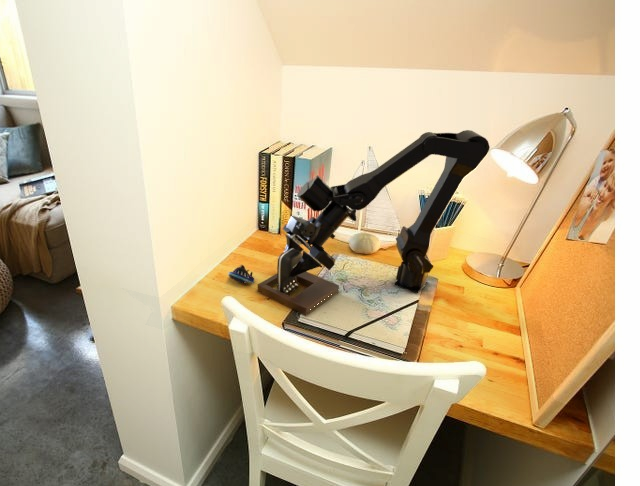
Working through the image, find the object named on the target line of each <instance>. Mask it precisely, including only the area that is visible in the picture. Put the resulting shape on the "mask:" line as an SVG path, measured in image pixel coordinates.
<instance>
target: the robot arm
mask: <svg viewBox="0 0 640 486" xmlns="http://www.w3.org/2000/svg"><path fill="white" fill-rule="evenodd" d="M490 149H491V148H490V143H489V141H488V139H487V138H486V137H484V136H482V135H480V134H479V133H477V132H475V131H473V130H470V129H466V130H462V131H460V132H457V133H456V132H433V131H432V132H431V131H428V132H424V133H422V134H421V135H420V136H419V137H418V138H417V139H415V140H414V141H413V142H412V143H410V144H409V145H407V146H406V147H405V148H403V149H401V150H400V151H399V152H398V153H396V154H395V155H394V156H392V157H391V158H389V159H388V160H386V161H385V162H383V163H382V164H381V165H379V166H378V167H377V168H375V169H374V170H372V171H370V172H367V173H363V174H360V175H359V176H356V177H354V178H353V179H350V180H349V181H347V183H344V184H339V185H332V186H329V185H328V184H327V183H326V182H325V180H323V178H322V177H321V176H320V175H316V176H315V177H314V178H312V179H310V180H309V181H306V182H305V183H304V185H302V187H301V188H300V189H299V191H298V192H297V195H296V196H297V197H298V199H300V200H301V202H303V203H304V204H305V205H306V206H308V208H309V209H310V210H312V211H313V212H318V213H319V212H320V213H319V214H318V215H317V217H316V218H315V217H314V216H312V217H310V218H309V219H304V218H301V217H298V216H295V215H290V217H289V219H288V222H287V223H286V224H285V225H284V226H283V227H282V228H281V229H282V230H283V231H284V232H285V238H286V245H285V248H284V250H283V252H285V251H286V250H288V249H290V248H293V249H295V250H298V251H300V252H301V253H302V259H301V260H300V261H299V262H298V264H297V265H296V266H295V267H294V269H293V270H292V271H291V273H290V276H291V277H294V276H297V275H299V274H301V273H304V272H308V271H311V270H314V269H316V268H323V267H324V268H326V269H327V270H329V271H331V269H332V268H334V266H335V265H336V259H335V258H334V257H333V256H332V255H330V254H329V253H328V252H327V251H326V250H325V247H324V246H323V245H324V244H325V243H326V242H327V241H328V240H329V239H330V238H331V239H332V240H334V239H335V238H336V235H335V234H334V233H335V232H336V231H337V230H338V229H339V228H340V227H341V226H342V224H343V223H344V222H345V221H346V220H347V219H349V220H350V221H353V222H357V211H362V210H363V209H365V208H366V207H368V206H369V205H370V204H371V203H372V202H373V201H374V200H375V199H376V198H377V197H378V195H379V194H380V193H381V191H382V190H383V189H384V188H385V187H387V186H388V185H389V184H391V183H393V182H394V181H395V180H396V179H398V178H399V177H401V176H402V175H404V174H405V173H406V172H409V171H410V170H411V169H413V168H414V167H415V166H417V165H418V164H420V163H421V162H423V161H424V160H426V159H427V158H428V157H430V156H431V155H435V156H442V157H445V162H444V168H443V170H442V172H441V174H440V176H439V178H438V179H437V181H436V183H435V184H434V187H433V188H432V190H431V192H430V194H429V195H428V198H427V200H426V201H425V203H424V205H423V207H422V209H420V212H419V213H418V216H417V217H416V219H415V221H414V222H413V223H412V224H411V225H410V226H409V227H406V226H405V225H404V226H402V227H401V229H400V233H399V234H398V235H397V236H396V237H395V241H396V243H395V246H396V249H397V251H398V253H399V256H400V258H401V260H402V261H401V263H400V265H399V266H398V267H397V272H396V277H395V280H396V281H394V283H393V285H394V286H395V287H397V288H401V289H404V290H407V291H410V292H412V293H414V294H419V293H420V292H421V291H422V290H423V289H424V288H425V287H427V285H428V283H429V282H428V281H427V279H428V275H429V273H430V272H431V271H432V270H433V268H434V264H433V263H432V261H431V259H430V258H429V256H428V254H427V253H428V251H429V248H430V246H431V239H432V234H433V232H434V229H435V228H436V226H437V225H438V222H439V221H440V220H441V218H442V216H443V215H444V213H445V212H446V210H447V208H448V206H449V205H450V202H451V201H452V199H453V198H454V196H455V194H456V192H457V191H458V189H459V187H460V185H461V184H462V182H463V180H464V179H465V178H466V177H467V176H468V175H470V174H471V173H473V171H475V170H476V169H477V168H478V167H479V165H481V163H482V162H484V161H483V160H485V158H486V157H487V156H488V154H489V152H490ZM301 245H302V246H304V247H305V248H306V249H307V250H309V251H308V252H306V251H305V250H304V248H303V247H302V246H301Z"/></svg>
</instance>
